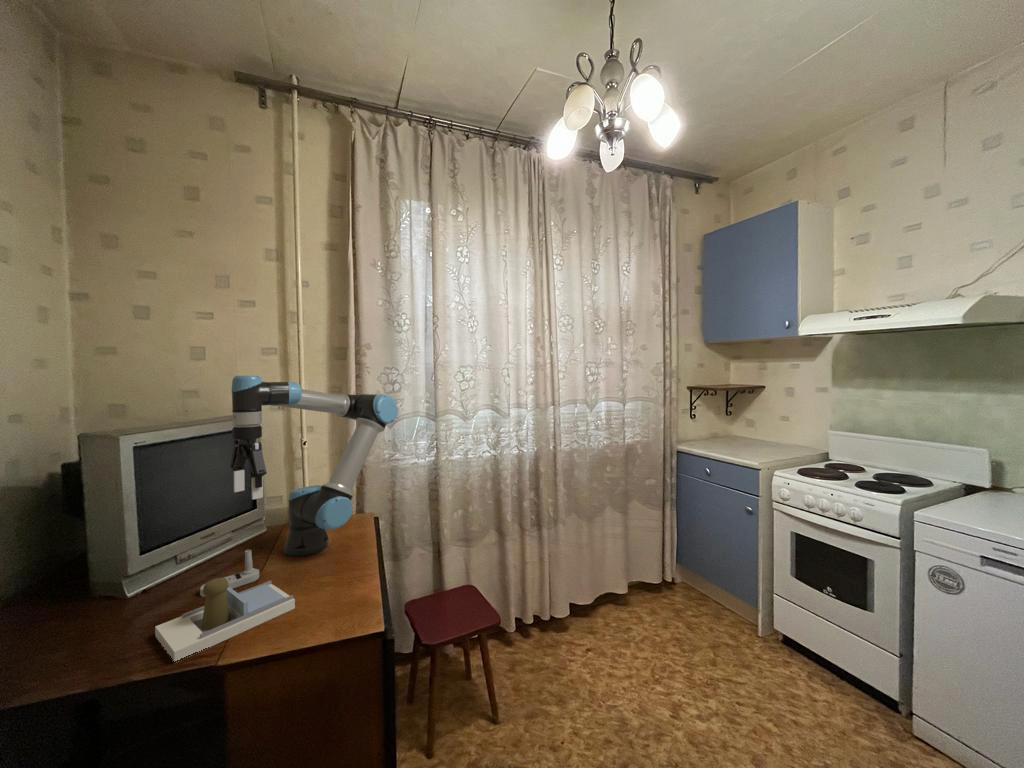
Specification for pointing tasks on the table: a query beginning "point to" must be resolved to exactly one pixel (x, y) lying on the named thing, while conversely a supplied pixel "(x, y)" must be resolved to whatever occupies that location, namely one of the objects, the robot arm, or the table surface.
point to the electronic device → (241, 575)
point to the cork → (215, 604)
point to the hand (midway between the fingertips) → (247, 494)
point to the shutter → (252, 599)
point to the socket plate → (190, 637)
